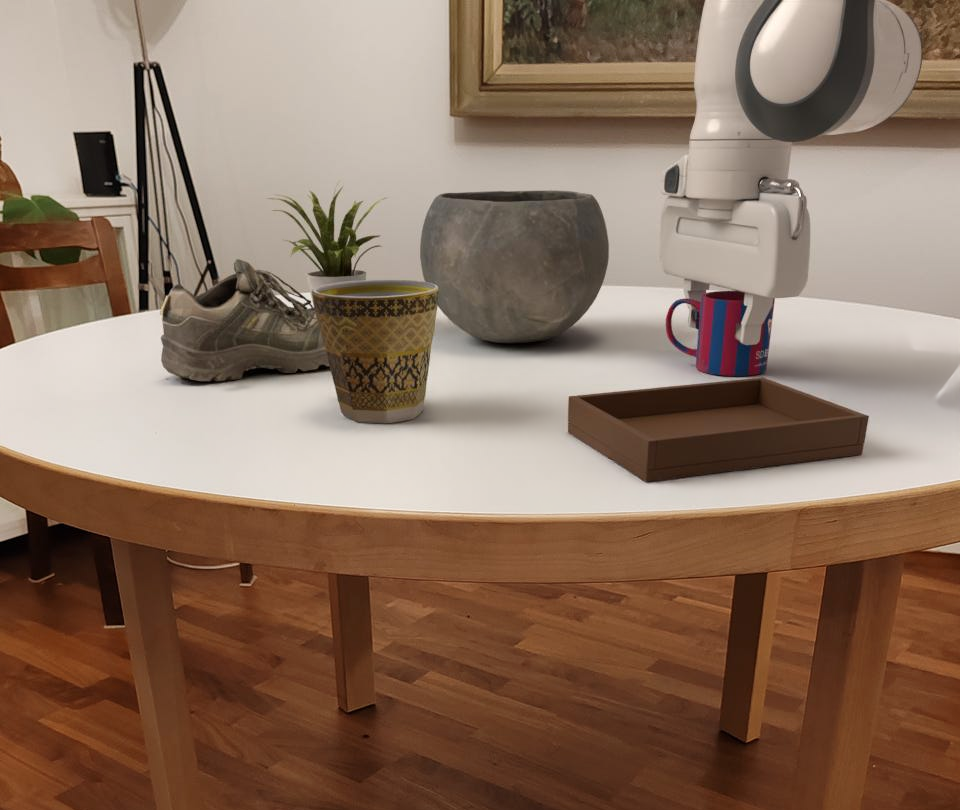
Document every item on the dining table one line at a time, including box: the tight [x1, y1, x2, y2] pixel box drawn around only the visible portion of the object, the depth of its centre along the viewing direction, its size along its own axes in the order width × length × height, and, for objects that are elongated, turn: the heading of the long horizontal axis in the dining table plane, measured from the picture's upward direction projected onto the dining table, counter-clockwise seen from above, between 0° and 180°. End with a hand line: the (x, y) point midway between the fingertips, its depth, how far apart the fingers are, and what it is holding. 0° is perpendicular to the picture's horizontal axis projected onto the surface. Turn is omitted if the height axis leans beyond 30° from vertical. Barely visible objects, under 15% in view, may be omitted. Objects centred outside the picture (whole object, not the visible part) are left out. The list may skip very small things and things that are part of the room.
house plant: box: [266, 181, 389, 306], centre depth 115 cm, size 14×14×16 cm
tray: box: [567, 377, 870, 483], centre depth 72 cm, size 17×13×3 cm
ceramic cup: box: [311, 279, 438, 424], centre depth 81 cm, size 13×10×10 cm
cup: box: [665, 290, 776, 377], centre depth 95 cm, size 7×10×7 cm
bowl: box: [419, 189, 610, 345], centre depth 107 cm, size 20×20×15 cm
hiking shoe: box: [159, 258, 330, 383], centre depth 97 cm, size 9×21×12 cm
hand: (721, 335), depth 94 cm, fingers closed on cup, 7 cm apart
